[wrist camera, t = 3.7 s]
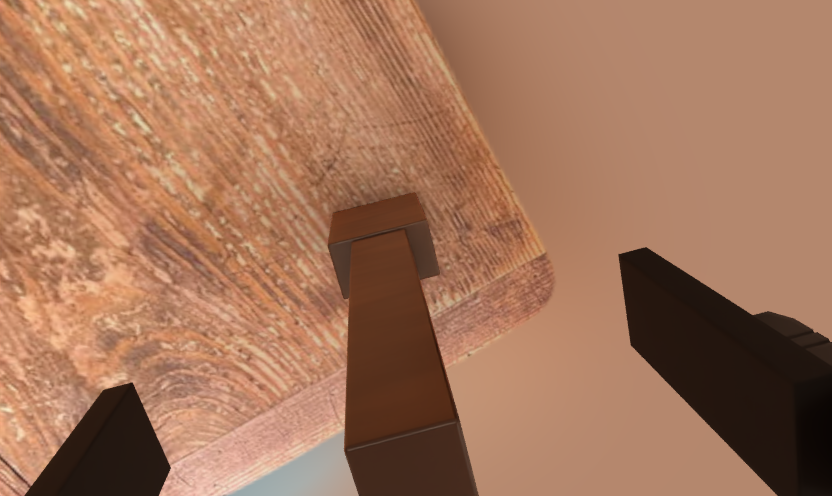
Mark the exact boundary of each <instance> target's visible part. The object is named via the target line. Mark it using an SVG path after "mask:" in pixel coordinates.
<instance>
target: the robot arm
mask: <svg viewBox="0 0 832 496" xmlns="http://www.w3.org/2000/svg"><path fill="white" fill-rule="evenodd" d="M619 263H620V270H621V277H622V284H623V291H624V299H625V306H626V314H627V321H628V328H629V336H630V343H631V346H632V347H633V348H634V349H635V350H636V351H637V352H638V353H639V354H640V355H641V356H642V357H643V358H644V359H645V360H646V361H647V362H648V363H649V364H650V365H651V366H652V367H653V368H654V369H655V370H656V371H657V372H658V373H659V375H661V377H662V378H663V379H664V380H665V381H666V382H667V383H668V384H669V385H670V386H671V387H672V388H673V389H674V390H675V391H676V392H677V393H678V394H679V395H680V396H681V397H682V398H683V399H684V400H685V401H686V402H687V403H688V404H689V405H690V406H691V407H692V408H693V409H694V410H695V411H696V412H697V413H698V414H699V416H700V417H701V418H702V419H703V420H705V422H706V423H707V424H708V425H710V427H711V428H712V429H713V430H714V431H715V432H716V433H717V434H718V435H719V436H720V437H721V438H722V439H723V440H724V441H725V442H726V443H727V444H728V445H729V446H730V447H731V448H732V449H733V450H734V451H735V452H736V453H737V454H738V455H739V456H740V457H741V459H742V460H743V461H744V462H745V463H746V464H747V465H748V466H749V467H750V468H751V469H752V470H753V471H754V472H755V473H756V474H757V475H758V476H759V477H760V478H761V479H762V480H763V481H764V482H765V483H766V484H767V485H768V486H769V487H770V488H771V489H772V490H773V491H774V492H775V493H776V494H777V495H778V496H832V342H830V341H829V339H828V338H826V337H824V336H823V335H821V334H819V333H818V332H817V333H814V332H813V330H812V329H810V328H809V327H807V326H806V325H804V324H802V323H801V322H799V321H797V320H795V319H793V318H790V317H786V316H783V315H779V314H776V313H772V312H769V311H767V312H764V313H760V314H756V315H751V314H750V313H748V312H747V311H745V310H744V309H742V308H740V307H739V306H737V305H736V304H734V303H732V302H731V301H730V300H728V299H726V298H725V297H723V296H722V295H720V294H719V293H717V292H715V291H714V290H712V289H711V288H709V287H708V286H706V285H704V284H703V283H701V282H700V281H698V280H697V279H695V278H694V277H692V276H690V275H689V274H687V273H686V272H684V271H683V270H681V269H680V268H678V267H676V266H675V265H673V264H672V263H670V262H668V261H667V260H665V259H664V258H662V257H661V256H659V255H658V254H656V253H654V252H653V251H651V250H650V249H648V248H647V247H645V248H641V249H637V250H633V251H630V252H626V253H622V254H619ZM170 469H171V467H170V465H169V463H168V460H167V458H166V456H165V454H164V452H163V449H162V447H161V445H160V443H159V440H158V438H157V436H156V434H155V432H154V429H153V427H152V425H151V423H150V420H149V418H148V416H147V414H146V411H145V409H144V407H143V405H142V403H141V400H140V398H139V396H138V394H137V391H136V389H135V387H134V385H133V382H132V383H128V384H124V385H121V386H117V387H113V388H109V389H105V390H103V391H102V393H101V394H100V395H99V397H98V398H97V399H96V401H95V402H94V403H93V405H92V406H91V407H90V409H89V410H88V411H87V413H86V414H85V415H84V417H83V418H82V419H81V421H80V422H79V423H78V425H77V426H76V427H75V429H74V430H73V431H72V433H71V434H70V435H69V437H68V438H67V439H66V441H65V442H64V443H63V445H62V446H61V447H60V449H59V450H58V451H57V453H56V454H55V455H54V457H53V458H52V459H51V461H50V462H49V464H48V465H47V466H46V468H45V469H44V470H43V472H42V473H41V474H40V476H39V477H38V478H37V480H36V481H35V482H34V484H33V485H32V486H31V488H30V489H29V490H28V492H27V493H26V494H25V496H159V494H160V491H161V489H162V487H163V485H164V482H165V480H166V478H167V476H168V473H169V471H170Z"/></svg>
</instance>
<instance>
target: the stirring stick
mask: <svg viewBox="0 0 832 496" xmlns="http://www.w3.org/2000/svg"><path fill="white" fill-rule="evenodd" d="M328 249H329V252H330V255H331V259H332V262H333V265H334V269H335V272H336V275H337V279H338V282H339V285H340V288H341V292H342V295H343V298H344V299H348V298H349V317H348V347H347V377H346V408H345V438H344V452H345V455H346V458H347V461H348V464H349V467H350V470H351V473H352V476H353V479H354V482H355V485H356V488H357V491H358V494H359V496H479V495H478V491H477V488H476V483H475V479H474V475H473V471H472V467H471V463H470V459H469V456H468V451H467V447H466V443H465V440H464V436H463V432H462V428H461V424H460V420H459V416H458V413H457V409H456V405H455V402H454V399H453V395H452V391H451V388H450V384H449V381H448V377H447V374H446V370H445V367H444V363H443V359H442V356H441V352H440V349H439V345H438V342H437V338H436V335H435V331H434V328H433V324H432V320H431V317H430V313H429V310H428V306H427V303H426V299H425V296H424V292H423V289H422V285H421V281H420V280H421V279H425V278H429V277H433V276H437V275H439V274H440V271H439V266H438V262H437V258H436V254H435V250H434V246H433V242H432V238H431V233H430V229H429V225H428V221H427V218H426V216H425V214H424V211H423V209H422V207H421V204H420V202H419V200H418V197H417V195H416V193H415V192H413V193H409V194H405V195H402V196H398V197H394V198H390V199H386V200H382V201H378V202H374V203H370V204H366V205H363V206H359V207H355V208H351V209H347V210H343V211H339V212H335V213H333V215H332V221H331V227H330V234H329V240H328Z"/></svg>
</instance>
